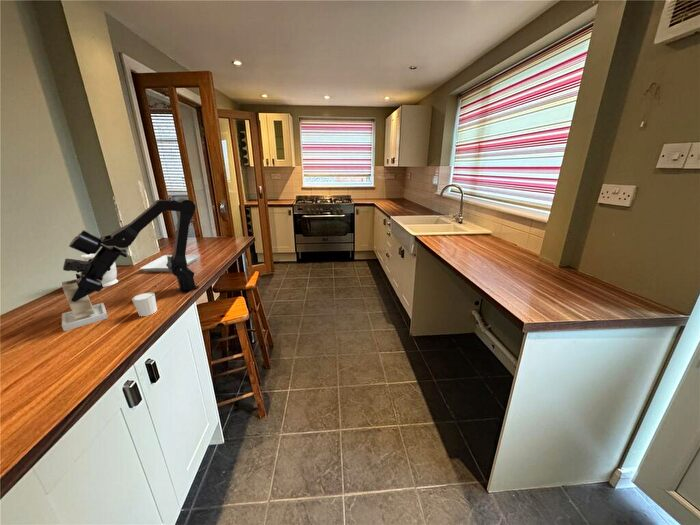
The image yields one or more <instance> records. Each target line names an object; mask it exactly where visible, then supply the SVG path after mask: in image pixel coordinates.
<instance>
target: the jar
mask: <svg viewBox="0 0 700 525" xmlns="http://www.w3.org/2000/svg"><path fill="white" fill-rule="evenodd" d="M98 252H99V250H98V251H97V252H96V253H95V254H91V253H90V254H89V255H88V254H85V253H83V254H81V256H80V257H81V259H83V261H88V260H89V259H91V258H94V256H95V255H96V254H97V253H98ZM110 268H111V269H110V271H107V272H106V273H105V275H104V276H103V279H102V281H101V282H102V285H103V288H105V287H110V286H113V285H116V284H117V283H118V282H119V280H118V279H117V277H118V270H117V264H116V261H115V262H114V263H113V265H112V266H111V267H110ZM97 280H98V279H97ZM99 281H100V280H99Z"/></svg>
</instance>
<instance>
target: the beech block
mask: <svg viewBox="0 0 700 525" xmlns="http://www.w3.org/2000/svg"><path fill="white" fill-rule="evenodd" d="M79 279H80V278H79ZM79 279H77V278H75V279H70V280H66V281H62V282H61V288H62V290H63V293H64V295H65V297H66V299H67V301H68V304H69V307H70V311H72V312H73V314H74V317H75V319H77V318H81V317H84V316H88V315H91V314H94V310H93V307H92V306H93V304H92V302H91V300H90V297H89V294H88V295H87V296H85V297H83V298H81V299H79V300H77V301H76V302H73V301H71V300H72V298H73V296H74V294H75V292H76V290H77V288H78V285H77V281H78V280H79Z"/></svg>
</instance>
